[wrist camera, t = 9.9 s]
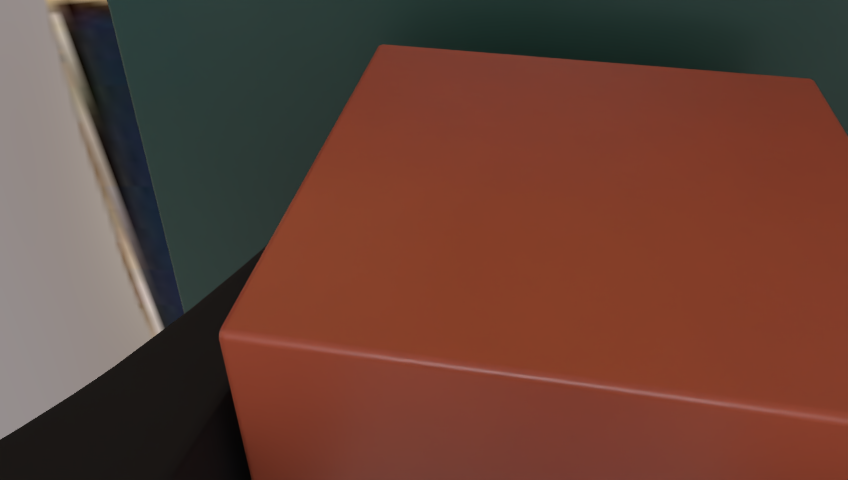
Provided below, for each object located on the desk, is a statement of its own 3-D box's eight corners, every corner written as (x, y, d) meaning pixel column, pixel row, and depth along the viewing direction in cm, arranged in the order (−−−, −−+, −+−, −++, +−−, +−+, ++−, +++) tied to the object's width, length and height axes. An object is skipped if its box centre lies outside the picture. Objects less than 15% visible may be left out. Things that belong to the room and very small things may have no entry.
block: (702, 376, 11) (770, 752, 7) (386, 335, 12) (289, 659, 8) (815, 76, 8) (1045, 447, 4) (378, 41, 9) (212, 334, 5)
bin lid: (897, 428, 14) (909, 453, 14) (203, 333, 16) (192, 352, 16) (1350, -282, 7) (1403, -281, 7) (57, -306, 9) (29, -308, 9)
